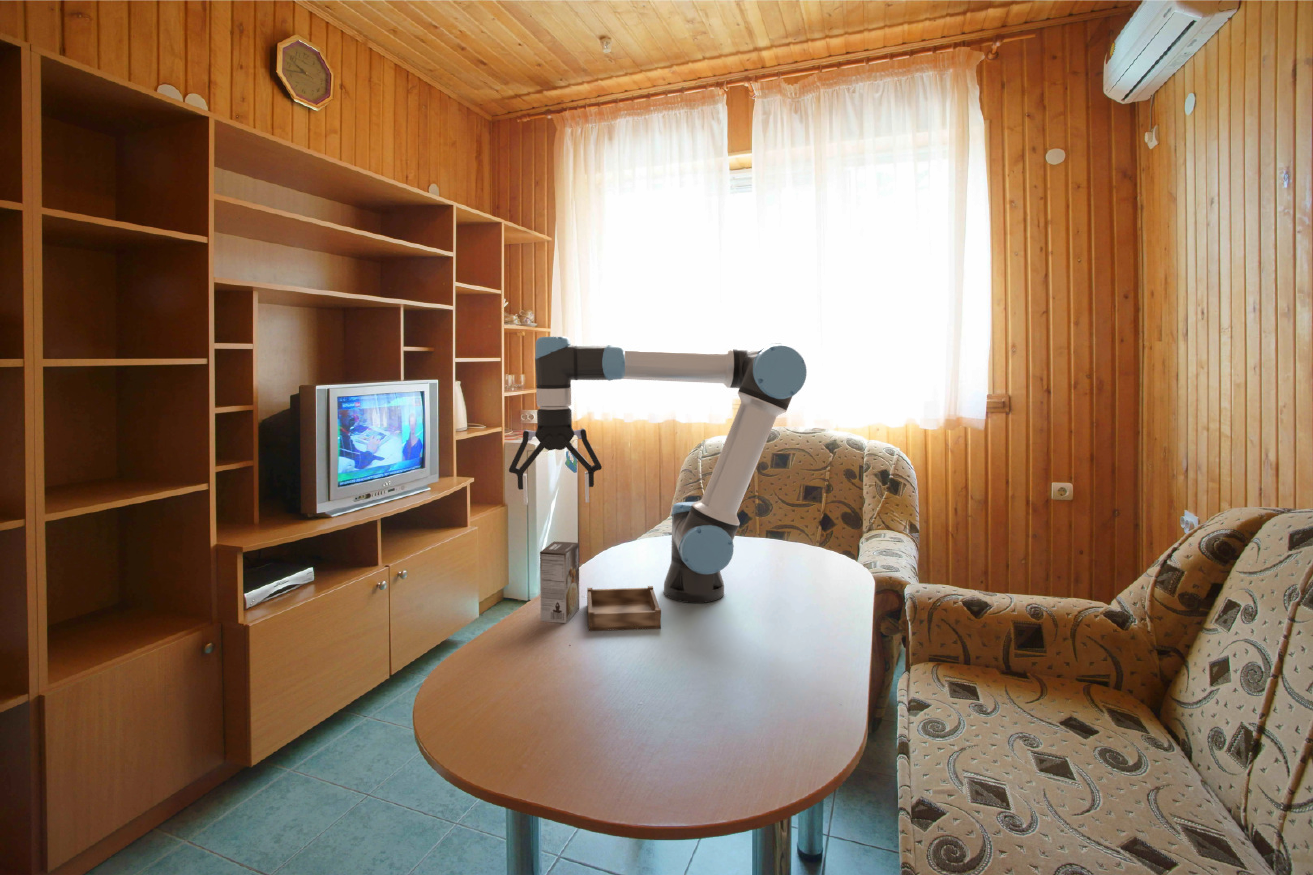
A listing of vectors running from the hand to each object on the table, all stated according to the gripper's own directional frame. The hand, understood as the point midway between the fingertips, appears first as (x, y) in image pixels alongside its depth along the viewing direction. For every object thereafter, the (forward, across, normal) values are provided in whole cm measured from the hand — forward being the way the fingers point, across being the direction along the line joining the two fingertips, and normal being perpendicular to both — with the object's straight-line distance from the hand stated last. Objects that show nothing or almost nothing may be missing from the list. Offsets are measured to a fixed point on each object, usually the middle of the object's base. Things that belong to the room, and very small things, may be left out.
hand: (556, 502), depth 152 cm
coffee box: (+26, 0, 0) cm, 26 cm away
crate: (+26, -14, +2) cm, 30 cm away
